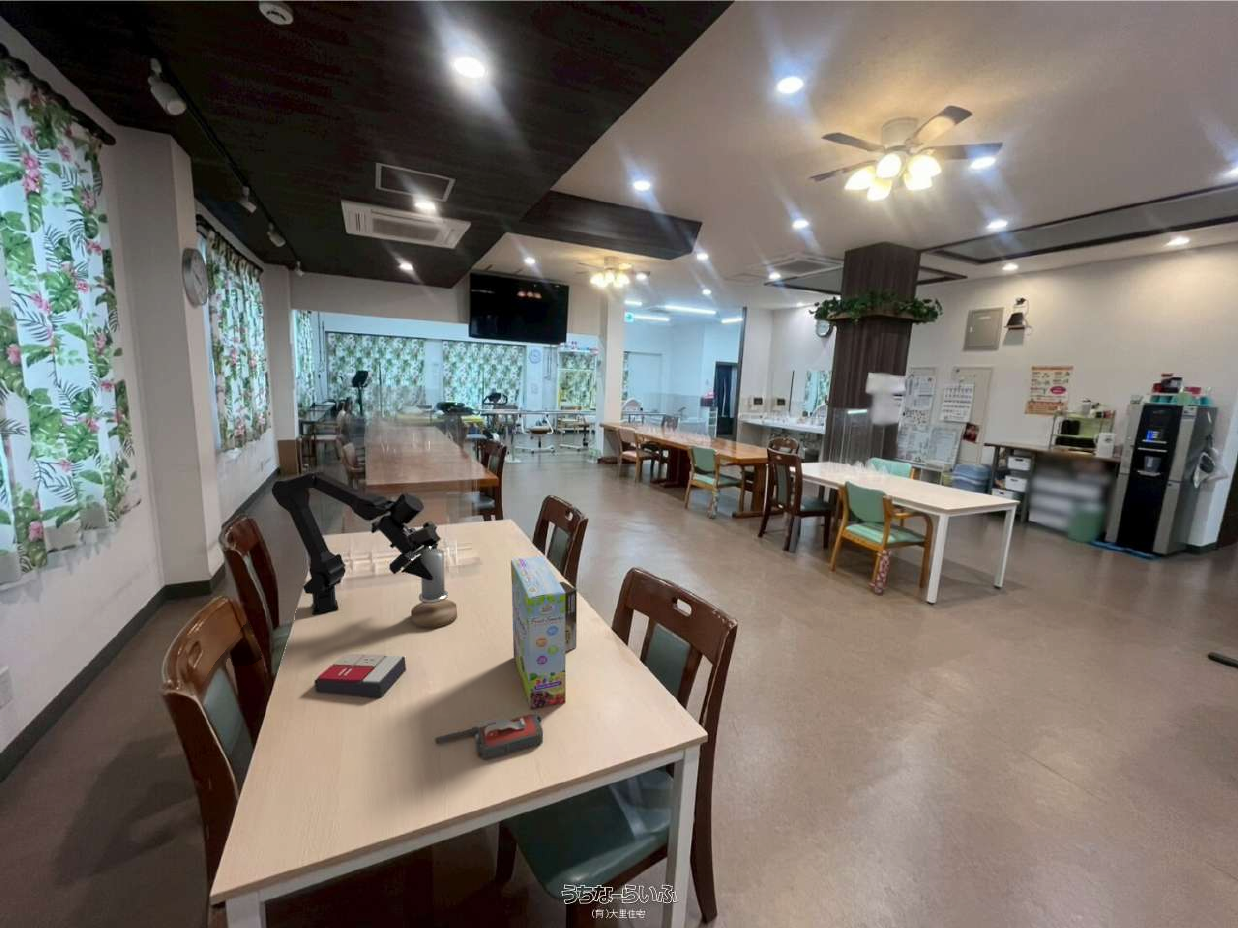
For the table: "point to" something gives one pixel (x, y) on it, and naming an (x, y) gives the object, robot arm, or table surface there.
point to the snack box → (539, 631)
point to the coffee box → (570, 616)
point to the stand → (434, 614)
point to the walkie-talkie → (502, 736)
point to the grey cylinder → (435, 566)
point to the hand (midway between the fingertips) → (437, 575)
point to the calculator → (361, 675)
